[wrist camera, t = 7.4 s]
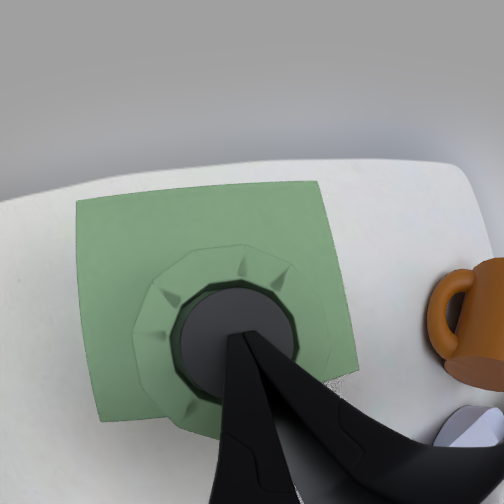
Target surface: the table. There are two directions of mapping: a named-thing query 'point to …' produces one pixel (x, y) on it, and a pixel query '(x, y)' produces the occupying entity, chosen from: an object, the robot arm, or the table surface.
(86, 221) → the green block with knob
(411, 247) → the table surface
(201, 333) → the dark grey round disc
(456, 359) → the mug
